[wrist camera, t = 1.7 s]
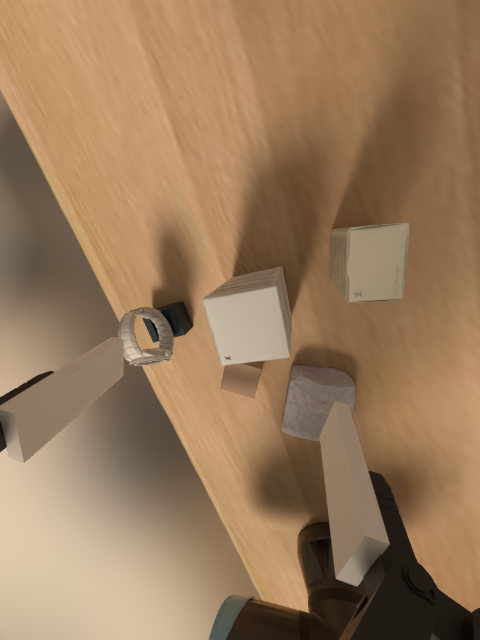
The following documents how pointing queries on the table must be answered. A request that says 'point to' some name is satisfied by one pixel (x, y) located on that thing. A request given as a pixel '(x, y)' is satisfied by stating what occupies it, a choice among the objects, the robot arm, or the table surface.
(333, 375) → the stone block
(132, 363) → the watch
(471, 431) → the table surface
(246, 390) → the walnut cube
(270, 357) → the supplement box
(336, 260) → the skincare box
